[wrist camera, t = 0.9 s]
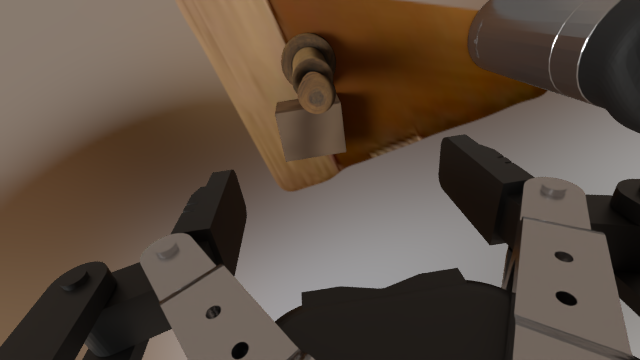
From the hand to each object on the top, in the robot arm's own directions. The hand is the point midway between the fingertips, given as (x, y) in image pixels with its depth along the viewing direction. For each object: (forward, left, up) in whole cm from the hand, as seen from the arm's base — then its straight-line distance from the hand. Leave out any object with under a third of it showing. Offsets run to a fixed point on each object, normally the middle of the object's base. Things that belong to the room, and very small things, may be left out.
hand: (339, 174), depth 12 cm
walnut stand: (+1, +8, -30) cm, 31 cm away
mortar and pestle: (0, 0, -30) cm, 30 cm away
